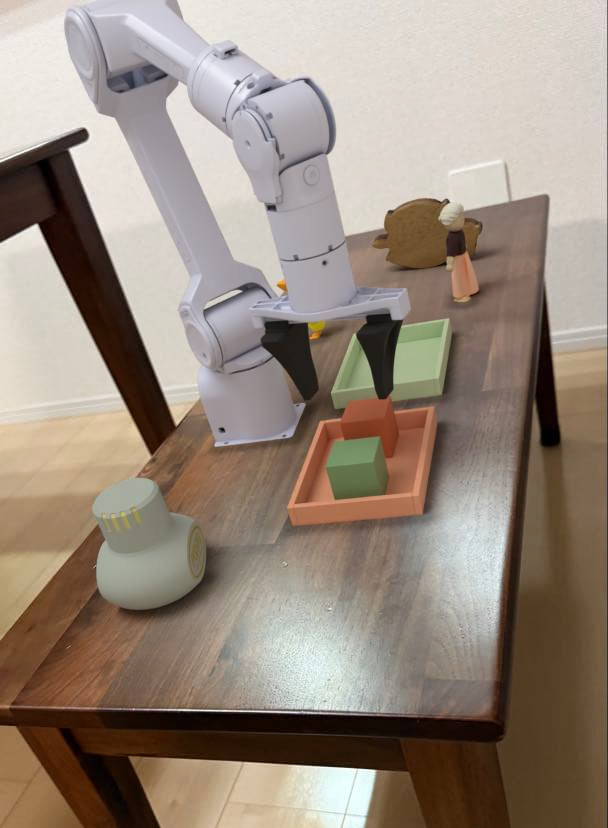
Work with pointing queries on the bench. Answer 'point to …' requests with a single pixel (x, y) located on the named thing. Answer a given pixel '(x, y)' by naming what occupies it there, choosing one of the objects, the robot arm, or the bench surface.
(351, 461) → the sage block
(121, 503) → the air freshener
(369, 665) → the bench surface
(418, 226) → the wooden carving
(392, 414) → the terracotta block
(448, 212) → the grandmother figurine
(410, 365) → the sage tray
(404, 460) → the terracotta tray
